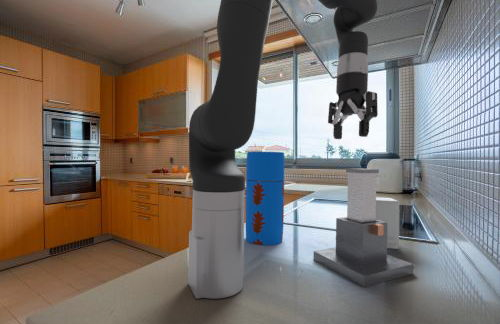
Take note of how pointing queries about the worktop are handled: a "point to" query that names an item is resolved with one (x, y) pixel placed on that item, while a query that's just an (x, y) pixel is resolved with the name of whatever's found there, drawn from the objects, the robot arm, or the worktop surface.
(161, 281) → the worktop surface
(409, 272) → the stand base
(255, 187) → the thermos
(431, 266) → the worktop surface
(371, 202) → the column
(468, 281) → the worktop surface
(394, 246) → the supplement box
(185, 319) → the worktop surface
